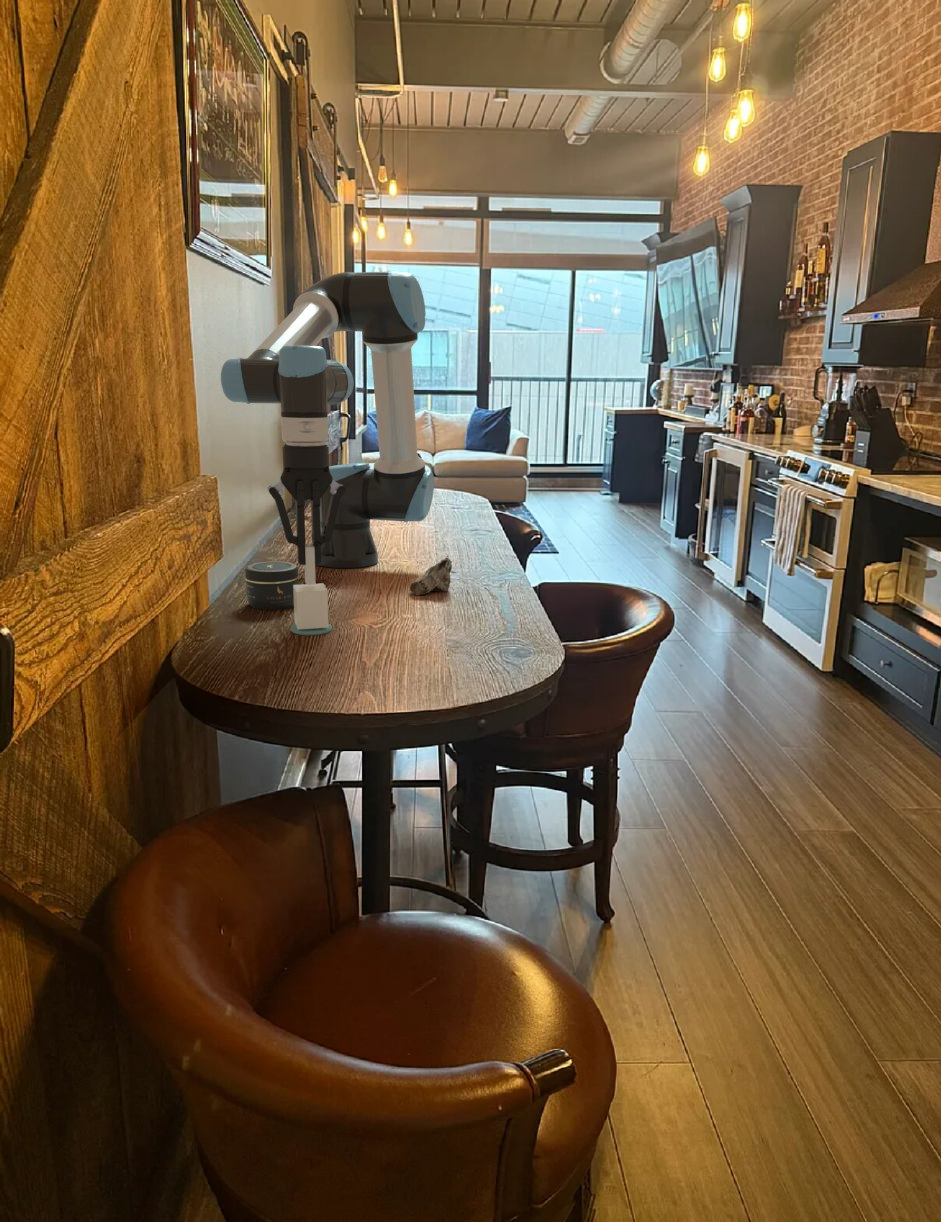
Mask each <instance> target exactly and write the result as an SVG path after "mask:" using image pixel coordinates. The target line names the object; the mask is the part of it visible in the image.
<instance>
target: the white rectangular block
mask: <svg viewBox="0 0 941 1222" xmlns="http://www.w3.org/2000/svg"><path fill="white" fill-rule="evenodd" d="M293 593H294V606H293V615H294V619H293V620H294V624H296V626H297V629H313V628H328V623H329V601H328V600H329V597H328V594H329V593H328V589H327V587H326V585H325V584H324V582H323V583H316V584H315V585H307V584H306V583H305V584H304V583H302V584H298V585H293Z"/></svg>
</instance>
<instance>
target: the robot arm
mask: <svg viewBox="0 0 941 1222" xmlns="http://www.w3.org/2000/svg"><path fill="white" fill-rule="evenodd" d="M292 307H293V308H292V311H291V312H290V313H289V314H288V315H287V316H286V317H285V318H284V319H283V320H282V322H281V323H280V324H278V326H276V327H275V329H274V330H273V331H272V332H271V333H270V334H269V335H268V336H267V337H266V338H265V339H264V340H263V341H262V342H261V344H260V345H258V347H256V348H255V350H254V351H253V352H251V354H250V355H249V356H248V357H247V358H243V357H238V358H229V359H227V360H225V362H224V363H223V365H222V367H221V372H220V383H221V388H222V392H223V394H224V396H225V397H226V398H227V400H229V401H231V402H233V403H242V404H243V403H245V404H249V405H250V404H280V415H281V416H280V420H281V421H280V422H281V424H280V425H281V440H282V441H283V442H285V444H283V446H282V472H281V476H280V480H279V481H278V482H276V483H275V484H273V485H269V486H268V487H267V491H268V493H269V494H270V496H271V497H272V498H273V500H274V502H275V506H276V508H277V509H276V510H277V512H278V516H279V519H280V522H281V526H282V529H283V533H284V536H285V539H286V541H287V543H288V544H290V545H291V544H292V545H296V546H297V549H296V550H297V551H296V552H297V562H298V563H299V566H304V567H303V568H304V582H305V584H307V585H315V584H317V583H316V565H317V566H319V567H320V566H321V567H323V568H324V567H325V568H333V569H334V568H336V569H353V568H355V569H356V568H364V567H369V566H373V565H375V564H378V562H379V551H378V549H377V547H376V544H375V541H374V537H373V534H372V532H371V520H374V521H390V522H391V521H392V522H403V523H408V522H422V521H424V520H425V519H426V518H427V516H428V515H429V512H430V510H431V506H432V501H433V498H434V490H435V476H434V474H433V472H432V471H430V470H426V462H425V461H424V460H423V458H422V457H420V456H419V454H418V441H417V440H418V439H417V438H418V437H417V422H416V407H415V390H414V389H415V388H414V373H413V372H414V371H413V370H414V369H413V358H412V357H413V355H412V347H413V346H414V345H415V344H416V342H418V338H419V337H418V334H419V333H420V332H423V330H424V329H425V326H426V305H425V299H424V294H423V291H422V287H421V285H420V282H419V281H418V279H417V277H416V276H414V274H411V273H409V272H401V271H395V270H393V271H392V270H391V271H388V270H387V271H365V272H364V271H362V272H360V271H357V272H354V271H353V272H352V271H346V272H345V271H344V272H338V273H334V274H331V275H329V276H327V277H325V278H322V279H320V280H319V281H317V282H315V283H313V284H312V285H311V286H309V287H307V288H306V289H305V290H304V291H303V292H302V293H300V295H299V296H298V297H297V298H296V300H295V301H294V303H293V306H292ZM336 332H337V333H338V332H361V333H362V335H361V336H362V342H363V344H364V345H366V346H367V348H369V349H370V352H371V353H370V354H371V369H372V378H373V379H372V380H373V392H374V393H373V394H374V402H375V403H374V404H375V413H376V414H375V416H376V426H377V427H376V428H377V429H376V430H377V440H378V451H379V452H378V453H379V458H378V459H377V460H376V461H375V462H374V464H373V469H371V465H370V463H369V462H353V463H352V462H351V463H344V464H337V465H330V450H329V446H328V445H327V444H326V442H328V441H329V423H328V422H329V421H328V420H329V419H328V418H329V417H328V416H329V413H328V409H329V408H328V406H337V405H338V404H342V403H343V402H345V401H347V399H348V398H350V396H351V394H352V393H353V389H354V382H355V381H354V377H353V374H352V371H351V370H350V369H349V367H348V366H347V365H346V364H344V363H343V362H340V361H337V360H336V359H327V352H326V349H325V348H324V347H322V346H320V345H319V346H317V345H318V344H319V343H320V342H321V340H322V339H327V338H329V337H330V336H332V335H333V334H334V333H336ZM284 488H285V489H286V490H287V491H288V492H289V494H290V495H291V497H293V499H294V503H295V504H294V505H295V526H296V527H295V528H296V529H295V530H296V531H295V533H296V535H294V533H293V529H292V526H291V522H290V520H289V519H290V518H289V515H288V512H287V509H286V505H285V502H284V500H283V498H282V497H283V495H284V494H285V493H284ZM307 500H309V501H310V515H311V517H310V518H311V520H310V521H311V522H310V523H311V541H312V543H308V544H307V543H306V521H305V519H306V518H305V517H306V516H305V512H306V511H305V504H306V502H305V501H307Z"/></svg>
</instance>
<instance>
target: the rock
mask: <svg viewBox="0 0 941 1222" xmlns="http://www.w3.org/2000/svg"><path fill="white" fill-rule="evenodd" d="M452 563H453V561H451V559H450V558H449V556H448V555H447V556H446V557H445V558H444V559H440V561H439V562H438V563H435V565H434V564H433V565H432V566H431V567H429V568H428V569H427V570H426V571H425V572H424V574H423V575H422V576H420V577H418V578H416V579H415V580H414V581H413V582H412V583H411V584H410V586H409V591H410V592H411V593H413V594H414V595H416V596H419V595H421V596H422V595H426V594H430V592H431V591H433V592H441V593H442V592H444V593H445V592H446V593H447V592H448V591H449V589H450V585H451V575H450V574H451V572H452V569H453V565H452Z"/></svg>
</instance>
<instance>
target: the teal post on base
mask: <svg viewBox="0 0 941 1222" xmlns="http://www.w3.org/2000/svg"><path fill="white" fill-rule="evenodd" d="M332 630H333V626H332V624H330V623H329V622H328V628H313V629H297V626H296V624H295V623H294V624H292V625H291V626H290V631H291V632H292V634H294V635H299V636H320V635H326V634H327V633H330V632H332Z"/></svg>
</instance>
